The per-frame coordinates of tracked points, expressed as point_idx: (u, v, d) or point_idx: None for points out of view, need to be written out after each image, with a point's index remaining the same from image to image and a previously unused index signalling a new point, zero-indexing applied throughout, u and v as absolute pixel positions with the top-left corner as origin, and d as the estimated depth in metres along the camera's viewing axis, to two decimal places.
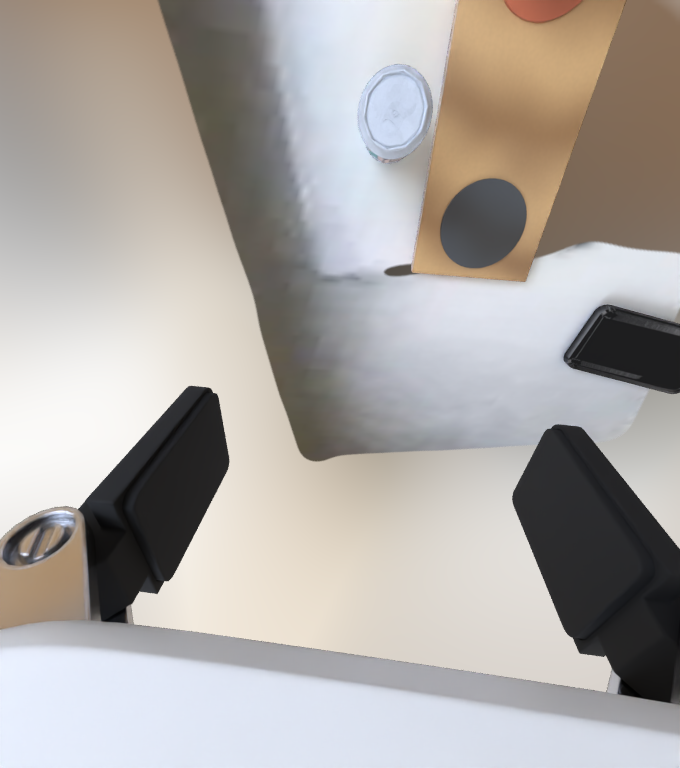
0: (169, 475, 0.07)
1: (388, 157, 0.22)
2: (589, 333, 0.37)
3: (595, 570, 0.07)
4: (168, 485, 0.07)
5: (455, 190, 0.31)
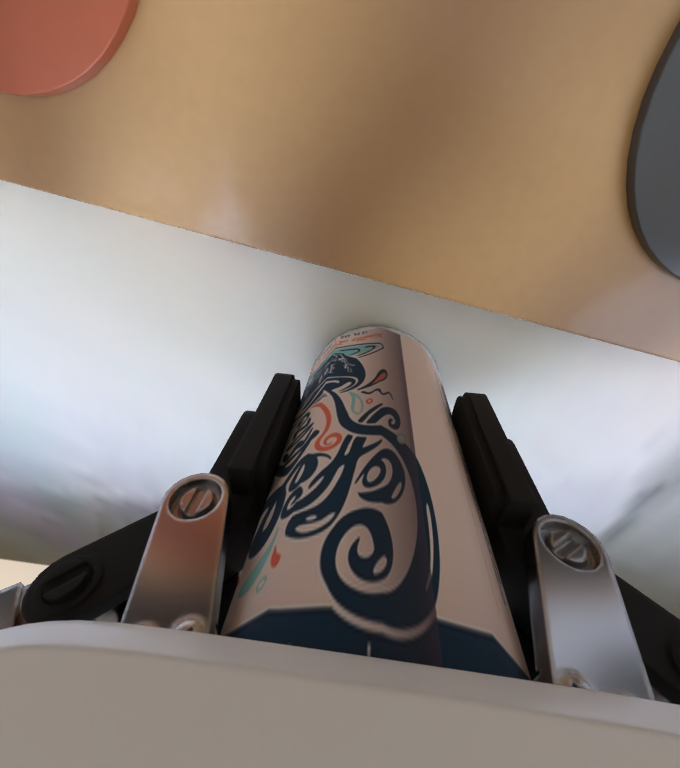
0: (278, 450, 0.08)
1: None
2: None
3: None
4: (277, 459, 0.08)
5: (613, 226, 0.08)
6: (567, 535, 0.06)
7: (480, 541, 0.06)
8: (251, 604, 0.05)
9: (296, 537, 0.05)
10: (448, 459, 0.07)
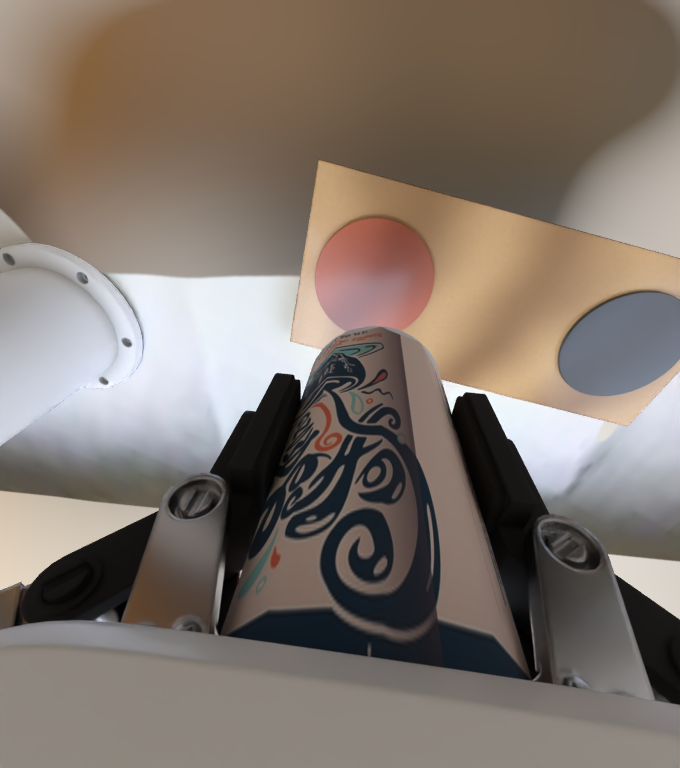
0: (278, 450, 0.08)
1: None
2: None
3: None
4: (277, 459, 0.08)
5: (555, 375, 0.25)
6: (567, 535, 0.06)
7: (481, 542, 0.06)
8: (251, 605, 0.05)
9: (296, 538, 0.05)
10: (449, 459, 0.07)
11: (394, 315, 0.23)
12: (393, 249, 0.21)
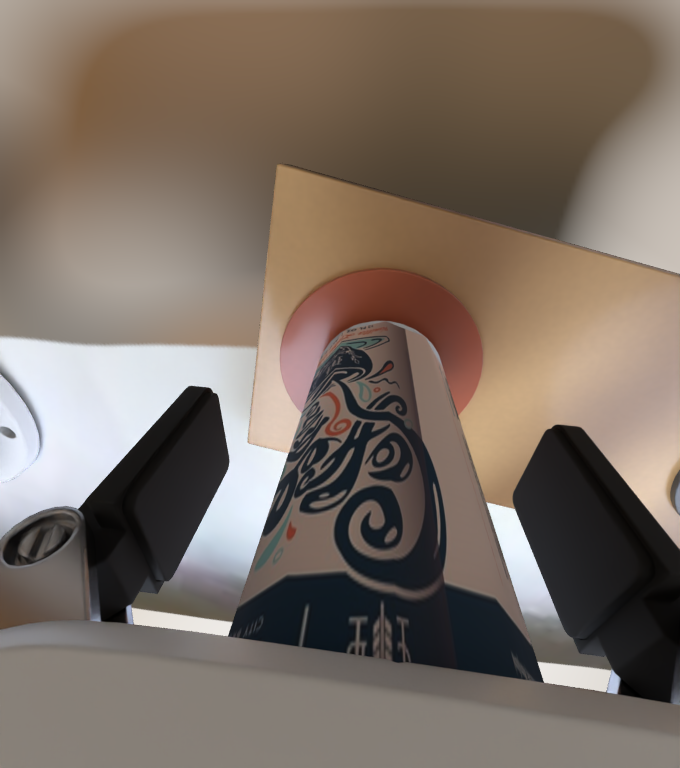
0: (169, 475, 0.07)
1: None
2: None
3: (595, 570, 0.07)
4: (168, 485, 0.07)
5: (662, 504, 0.16)
6: None
7: (484, 520, 0.06)
8: (268, 573, 0.05)
9: (310, 512, 0.05)
10: (453, 444, 0.07)
11: None
12: (413, 322, 0.12)
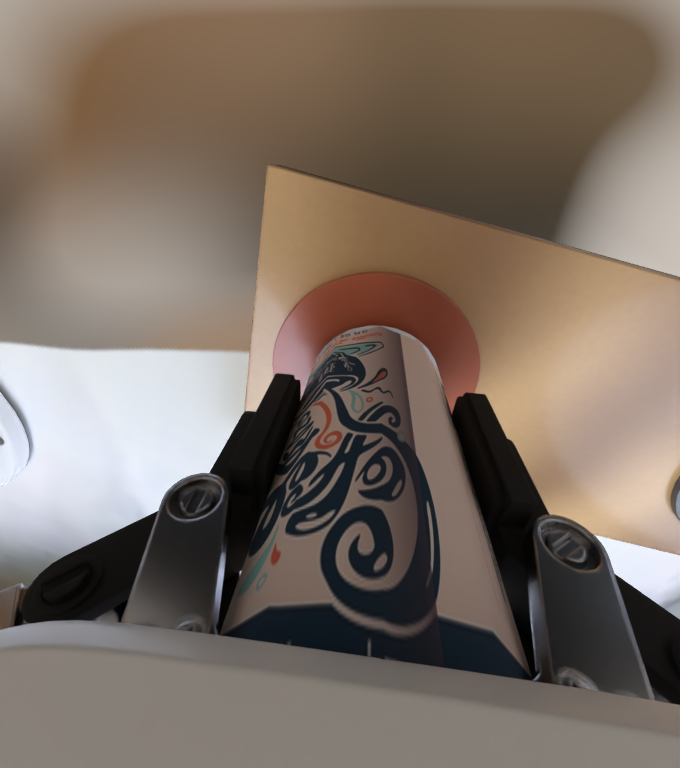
0: (278, 450, 0.08)
1: None
2: None
3: None
4: (277, 459, 0.08)
5: (662, 510, 0.15)
6: (567, 535, 0.06)
7: (480, 539, 0.06)
8: (251, 602, 0.05)
9: (296, 535, 0.05)
10: (448, 457, 0.07)
11: None
12: (409, 326, 0.12)
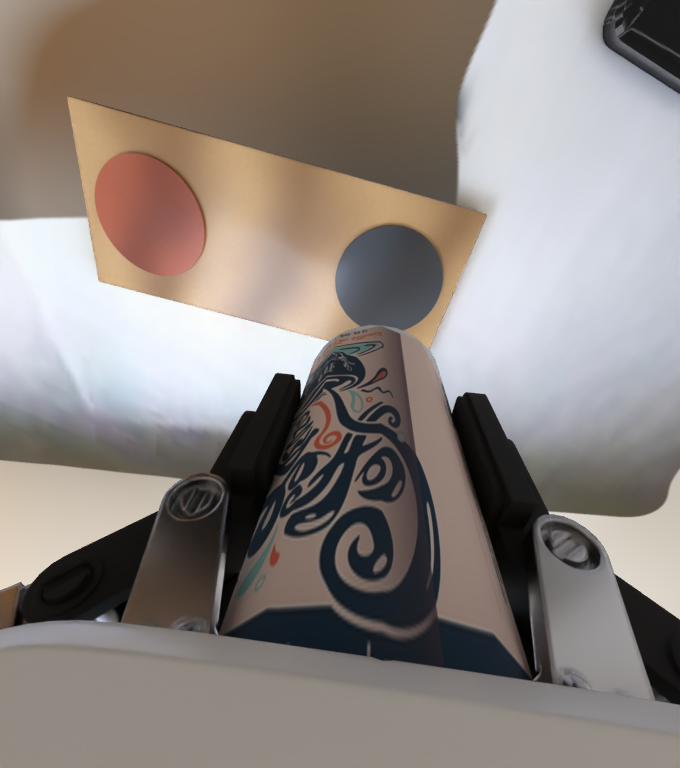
0: (278, 450, 0.08)
1: None
2: (658, 54, 0.17)
3: None
4: (277, 459, 0.08)
5: (341, 312, 0.27)
6: (567, 535, 0.06)
7: (481, 540, 0.06)
8: (250, 603, 0.05)
9: (295, 536, 0.05)
10: (448, 457, 0.07)
11: (178, 252, 0.25)
12: (156, 184, 0.23)
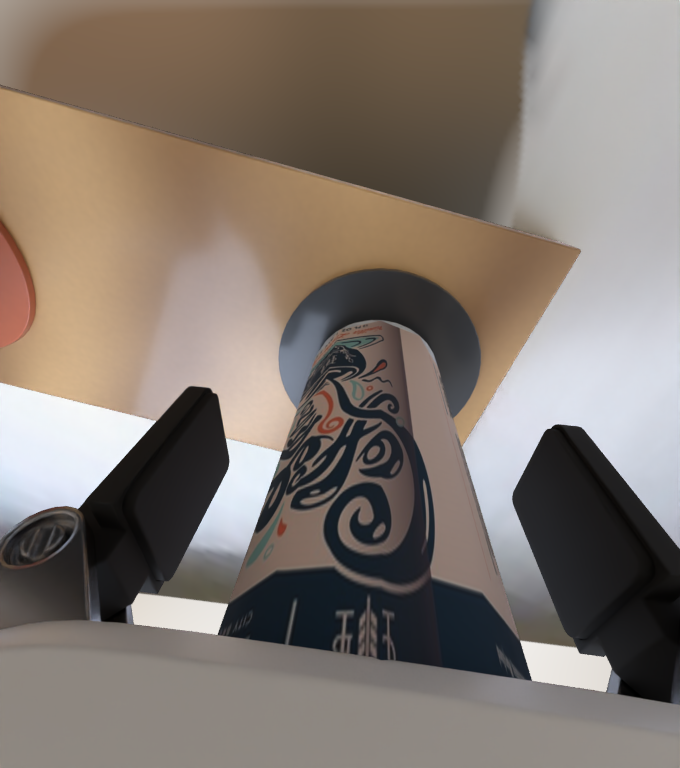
0: (169, 475, 0.07)
1: None
2: None
3: (595, 570, 0.07)
4: (168, 485, 0.07)
5: (295, 412, 0.15)
6: None
7: (474, 517, 0.06)
8: (259, 569, 0.05)
9: (301, 509, 0.05)
10: (444, 442, 0.07)
11: None
12: None
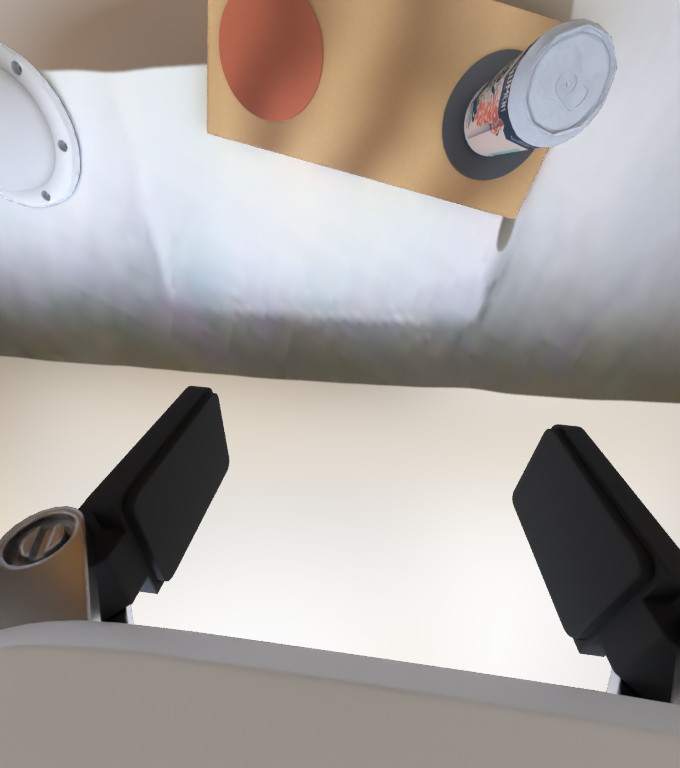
0: (169, 475, 0.07)
1: (603, 102, 0.16)
2: None
3: (595, 570, 0.07)
4: (168, 485, 0.07)
5: (443, 159, 0.28)
6: None
7: None
8: (517, 60, 0.18)
9: (525, 50, 0.18)
10: None
11: (292, 91, 0.26)
12: (282, 11, 0.24)
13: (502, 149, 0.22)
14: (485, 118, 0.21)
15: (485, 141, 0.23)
